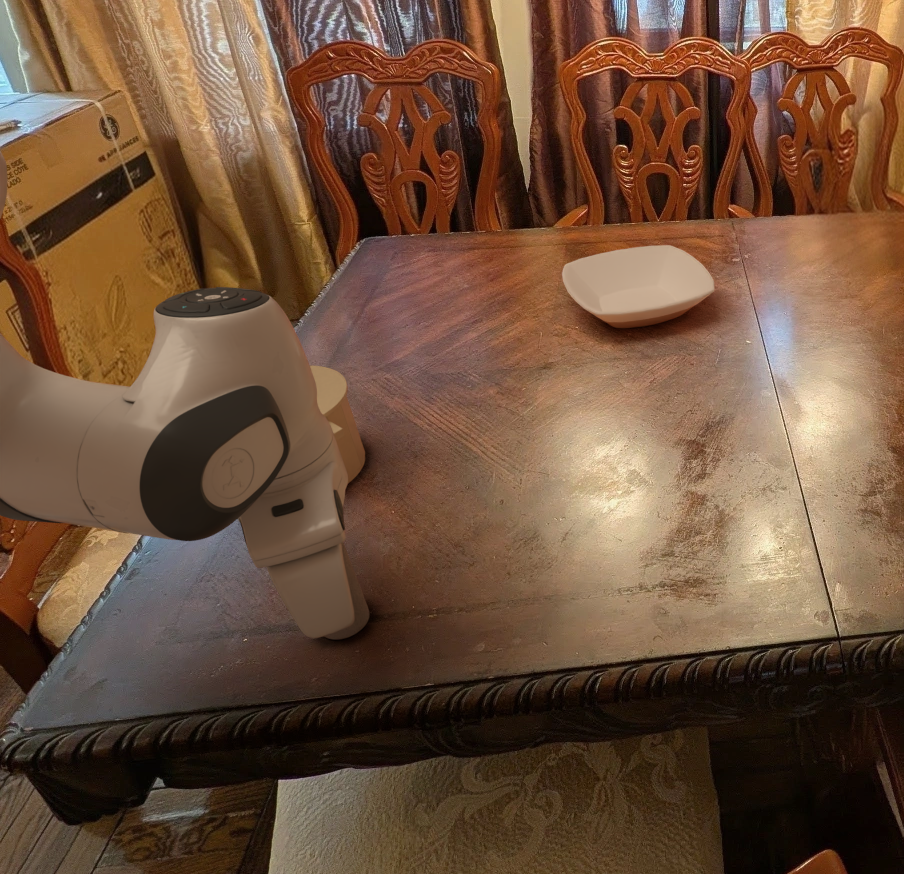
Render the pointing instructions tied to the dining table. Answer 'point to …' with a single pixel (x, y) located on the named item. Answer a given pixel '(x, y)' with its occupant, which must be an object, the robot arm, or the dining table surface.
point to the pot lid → (329, 389)
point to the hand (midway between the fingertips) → (334, 594)
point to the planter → (357, 600)
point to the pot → (347, 439)
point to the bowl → (638, 284)
